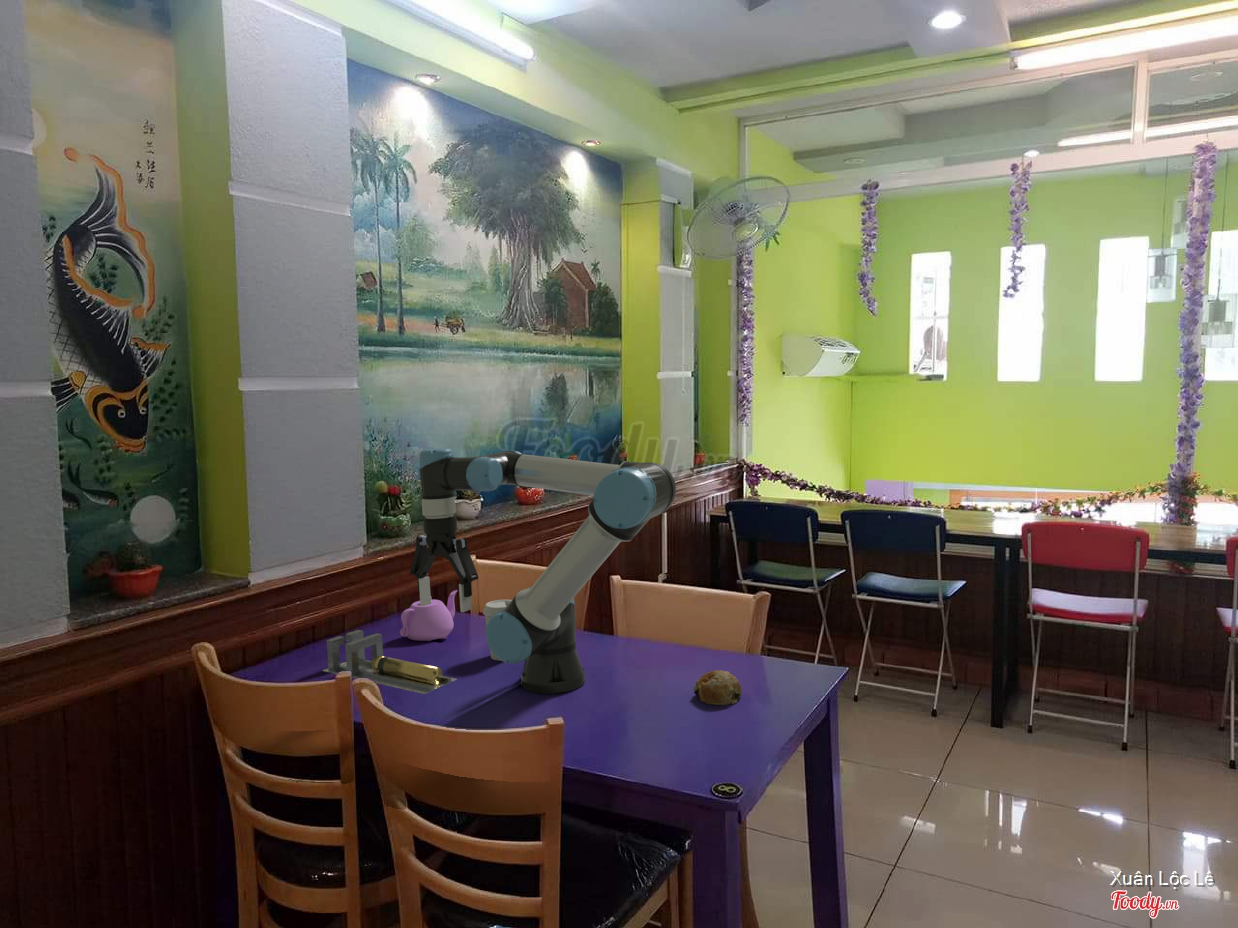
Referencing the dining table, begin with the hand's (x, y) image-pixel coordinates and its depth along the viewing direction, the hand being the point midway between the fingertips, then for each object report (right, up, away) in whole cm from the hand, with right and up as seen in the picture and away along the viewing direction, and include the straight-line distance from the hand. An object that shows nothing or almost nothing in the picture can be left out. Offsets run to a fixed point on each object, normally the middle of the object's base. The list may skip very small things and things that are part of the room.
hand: (445, 607), depth 200 cm
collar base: (-17, -20, +13) cm, 29 cm away
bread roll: (+62, -19, -8) cm, 66 cm away
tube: (-12, -19, +10) cm, 24 cm away
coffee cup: (+10, -18, +24) cm, 32 cm away
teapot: (-13, -17, +46) cm, 51 cm away
